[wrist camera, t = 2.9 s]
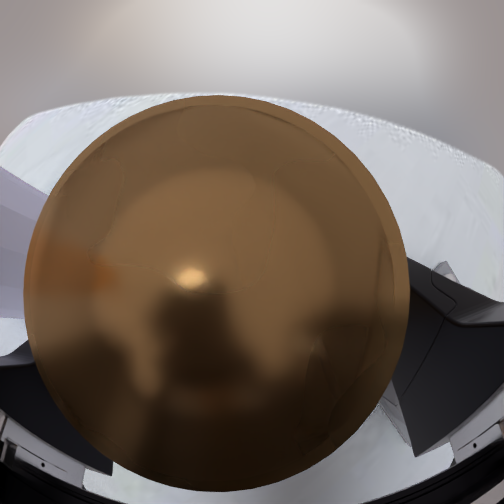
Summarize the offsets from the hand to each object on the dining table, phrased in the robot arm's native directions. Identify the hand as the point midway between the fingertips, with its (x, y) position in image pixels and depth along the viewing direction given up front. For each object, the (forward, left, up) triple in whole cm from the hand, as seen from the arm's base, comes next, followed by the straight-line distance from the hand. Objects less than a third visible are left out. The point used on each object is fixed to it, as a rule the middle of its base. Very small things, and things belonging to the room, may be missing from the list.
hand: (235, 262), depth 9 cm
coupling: (-1, +1, -7) cm, 7 cm away
